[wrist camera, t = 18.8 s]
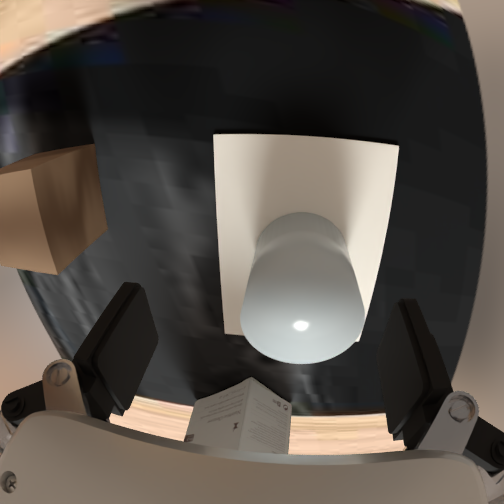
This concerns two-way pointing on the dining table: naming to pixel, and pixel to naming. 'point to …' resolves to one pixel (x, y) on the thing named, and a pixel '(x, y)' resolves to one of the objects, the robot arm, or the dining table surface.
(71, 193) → the walnut block
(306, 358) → the grey rounded cylinder
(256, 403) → the skincare box
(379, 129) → the dining table surface
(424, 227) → the dining table surface
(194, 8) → the dining table surface
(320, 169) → the letter
